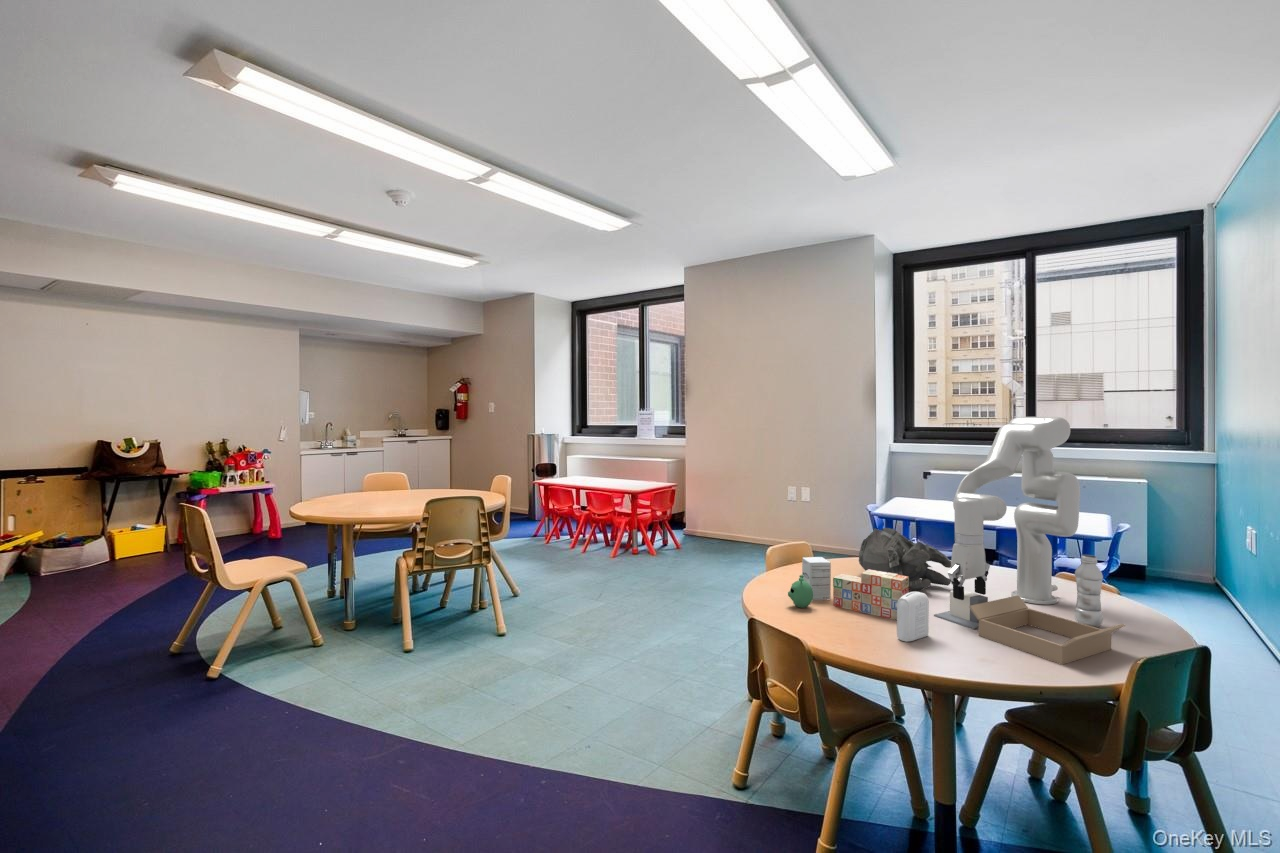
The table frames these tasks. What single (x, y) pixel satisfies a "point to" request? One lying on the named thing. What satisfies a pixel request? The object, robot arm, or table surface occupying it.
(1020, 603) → the carton
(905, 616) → the photo printer
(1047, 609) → the table surface
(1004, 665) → the table surface
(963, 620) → the mat
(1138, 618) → the table surface
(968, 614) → the box
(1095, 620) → the plastic bottle
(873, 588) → the stack of blocks
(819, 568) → the supplement box
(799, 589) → the alien toy
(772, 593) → the table surface
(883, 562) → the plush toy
